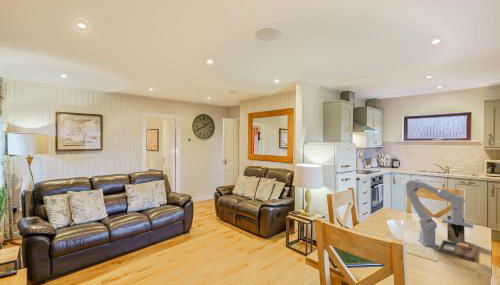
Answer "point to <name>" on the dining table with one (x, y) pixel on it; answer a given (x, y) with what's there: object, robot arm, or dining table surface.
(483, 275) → the dining table surface
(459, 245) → the terracotta tile
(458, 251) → the walnut ledge
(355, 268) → the dining table surface
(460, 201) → the robot arm
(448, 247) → the cream tile
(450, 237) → the coffee box
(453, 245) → the tray
